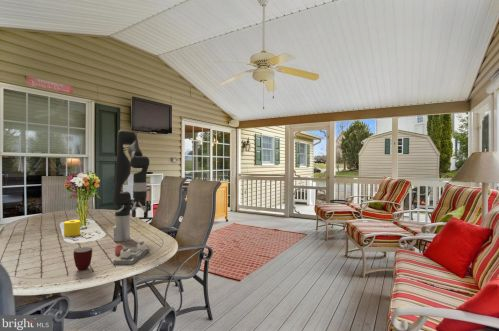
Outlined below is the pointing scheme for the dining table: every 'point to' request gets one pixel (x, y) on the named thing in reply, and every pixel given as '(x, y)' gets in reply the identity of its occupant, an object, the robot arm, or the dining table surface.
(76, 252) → the mug
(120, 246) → the cap
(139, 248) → the toggle
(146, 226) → the dining table surface
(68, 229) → the yellow cylinder
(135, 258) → the panel
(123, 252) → the toggle
